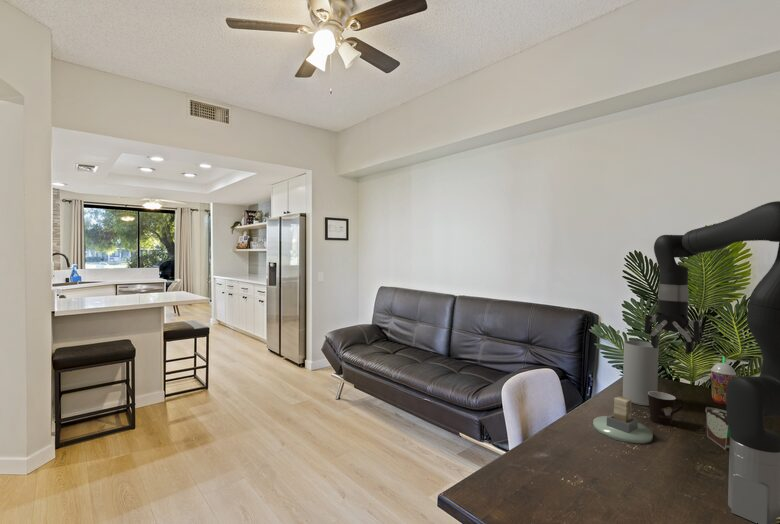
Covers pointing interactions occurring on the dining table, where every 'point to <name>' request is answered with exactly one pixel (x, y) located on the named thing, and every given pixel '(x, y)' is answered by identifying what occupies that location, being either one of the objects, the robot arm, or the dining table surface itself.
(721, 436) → the food container
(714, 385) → the smoothie
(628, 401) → the beige rectangular block
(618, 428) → the clip plate
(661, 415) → the coffee mug
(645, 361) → the cylinder vase
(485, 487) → the dining table surface
